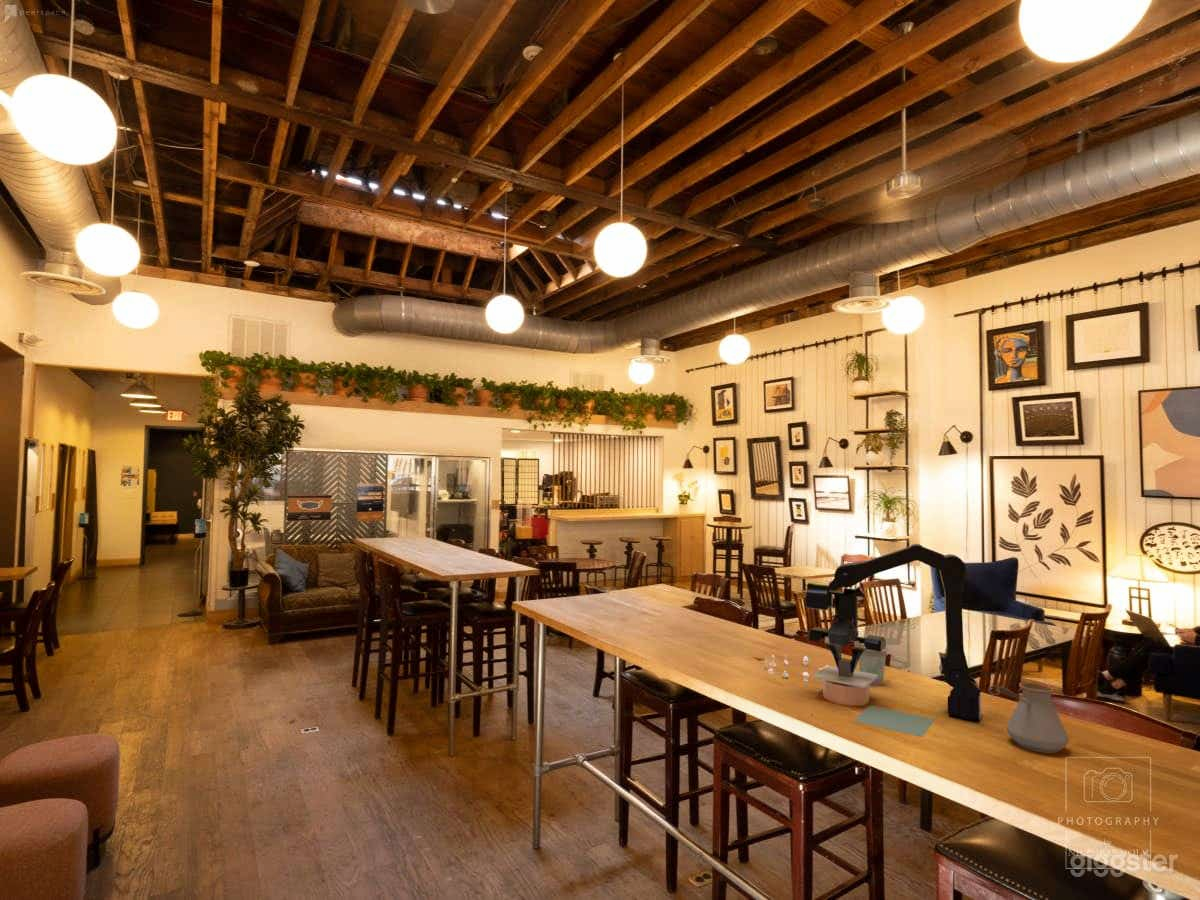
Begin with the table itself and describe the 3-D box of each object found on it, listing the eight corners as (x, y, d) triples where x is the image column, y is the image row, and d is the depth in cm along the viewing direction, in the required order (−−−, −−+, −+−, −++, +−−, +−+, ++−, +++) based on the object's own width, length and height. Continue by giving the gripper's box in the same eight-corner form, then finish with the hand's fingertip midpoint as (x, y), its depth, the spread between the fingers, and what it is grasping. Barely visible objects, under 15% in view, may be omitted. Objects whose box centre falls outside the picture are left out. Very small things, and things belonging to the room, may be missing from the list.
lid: (878, 677, 172) (878, 659, 173) (864, 688, 162) (864, 669, 162) (828, 667, 180) (829, 651, 180) (813, 677, 170) (813, 660, 170)
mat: (934, 721, 157) (934, 719, 157) (922, 739, 145) (922, 737, 145) (870, 707, 166) (870, 705, 166) (853, 723, 154) (853, 721, 154)
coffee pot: (1025, 733, 150) (1024, 667, 151) (1080, 752, 140) (1079, 681, 141) (967, 747, 141) (966, 677, 142) (1021, 768, 130) (1021, 693, 131)
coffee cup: (854, 684, 186) (854, 641, 187) (857, 676, 194) (857, 636, 194) (886, 689, 182) (886, 645, 183) (888, 681, 190) (888, 639, 190)
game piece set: (788, 661, 211) (788, 649, 211) (843, 676, 195) (843, 663, 195) (749, 669, 199) (749, 657, 200) (804, 686, 183) (804, 673, 184)
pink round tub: (873, 699, 172) (873, 679, 172) (861, 710, 163) (861, 689, 163) (831, 691, 179) (831, 672, 179) (818, 700, 170) (818, 680, 170)
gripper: (801, 611, 171) (800, 671, 170) (875, 621, 160) (875, 685, 159) (815, 606, 180) (814, 662, 179) (886, 615, 169) (886, 676, 168)
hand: (846, 671), depth 171 cm, fingers closed on lid, 3 cm apart
